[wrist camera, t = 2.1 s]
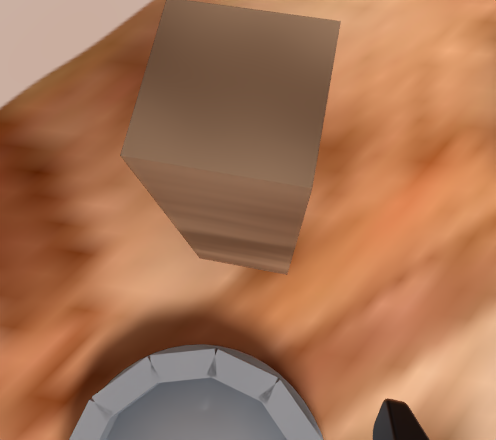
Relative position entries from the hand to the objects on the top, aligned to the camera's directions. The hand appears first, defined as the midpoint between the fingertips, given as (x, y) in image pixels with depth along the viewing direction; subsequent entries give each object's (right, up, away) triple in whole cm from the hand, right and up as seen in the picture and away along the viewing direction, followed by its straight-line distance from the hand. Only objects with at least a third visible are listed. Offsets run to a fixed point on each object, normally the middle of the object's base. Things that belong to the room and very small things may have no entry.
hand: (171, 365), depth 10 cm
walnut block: (+2, +3, +14) cm, 14 cm away
